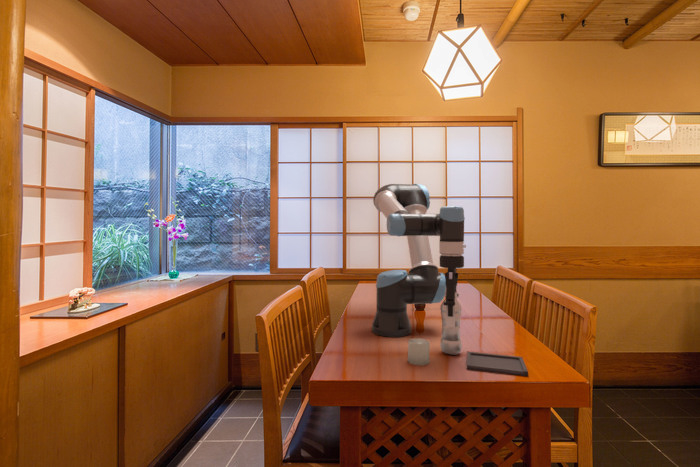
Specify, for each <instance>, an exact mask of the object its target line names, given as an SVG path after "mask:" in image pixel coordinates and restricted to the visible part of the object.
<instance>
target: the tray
mask: <svg viewBox="0 0 700 467" xmlns="http://www.w3.org/2000/svg"><path fill="white" fill-rule="evenodd" d="M466 370H468V371H470V370H471V371H477V372H487V373H495V374H504V375H513V376H523V377H529V370H528V367H527V366H526V364H525V360H524V358H523V356H516V355H506V354H497V353H486V352H479V351H478V352H477V351H476V352H475V351H466Z"/></svg>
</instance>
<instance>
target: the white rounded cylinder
mask: <svg viewBox="0 0 700 467" xmlns="http://www.w3.org/2000/svg"><path fill="white" fill-rule="evenodd" d="M430 345H431V344H430V341H429V340H427V339H424V338H411V339H408V340H407V362H408V363H409V364H411V365H413V366H421V367H422V366H427V365H429V364H430Z"/></svg>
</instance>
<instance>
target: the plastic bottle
mask: <svg viewBox="0 0 700 467" xmlns="http://www.w3.org/2000/svg"><path fill="white" fill-rule="evenodd" d="M457 294H458V291H457V290H456V291H455V327H446V305H444V302H445V301H446V291H445V296H444V298H445V299H443V300H442V302H441V304H440V314H441V324H442V326H441V327H442V328H441V337H440V338H441V339H440V345H439V346H440V350H441V351H442V353H444V354H447V355H459V354H460V353H461V352H462V348H463V346H462V345H463V344H462V340H461V330H460V329H461V328H460V327H461V326H460V325H461V316H462V306H461V304H460V302H459V301H458V297H457ZM456 298H457V299H456Z"/></svg>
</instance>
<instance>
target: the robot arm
mask: <svg viewBox="0 0 700 467" xmlns="http://www.w3.org/2000/svg"><path fill="white" fill-rule="evenodd" d="M430 199H431V196H430V192H429V190H428V188H427V186H425V185H424V184H419V183H413V184H406V183H405V184H402V183H389V184H386V185H383V186H381V187H380V188H378V189H377V190H376V192H375V193H374V195H373V200H372V202H373V205H374V207H375V208H376V210H377V211H378V212H381V213H382V214H383V216H384V217H385V219H386V230H387V234H388V235H389V236H395V237H406V238H407V244H408V249H409V250H408V252H409V256H410V264H411V267H410V269H409V270H408V271H407V270H404V269H393V270H391V269H390V270H387V271H382V272H380V273H379V274H378V275H377V277H376V283H375V284H376V285H375V287H376V310H375V315H374V318H373V321H372V324H371V332H372V333H373V334H375V335H378V336H381V337H388V338H389V337H390V338H399V337H406V336H408V335H411V333H412V324H411V321H410V318H409V315H408V307H407V306H408V305H413V304H414V305H418V304H419V305H420V304H422V305H423V304H424V305H425V304H429V305H431V304H438V303H442V302H443V301H444V298H445V299H446V301H445V302H444V305H446V327H455V291H457V286H458V280H459V272H457V270H458V269H462V268H464V267H465V256H464V253H465V252H464V251H465V249H464V248H467V245H466V244H465V211H464V207H462V206H454V205H453V206H451V205H450V206H442V207H440V208H439V213H427V212H428V209H429V208H430V206H431V201H430ZM430 236H431V237H432V236H433V237H439V243H438V244H439V254H441V255H439V267H441V268H444V269H447V272H445V273H443V272H439V267H438V266H437V265H435V264H434V261H433V254H432V250H431V245H430V239H429V237H430ZM445 291H446V297H445ZM459 296H460V294H459V293H457V298H456V299H457V300H458V297H459Z"/></svg>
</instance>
